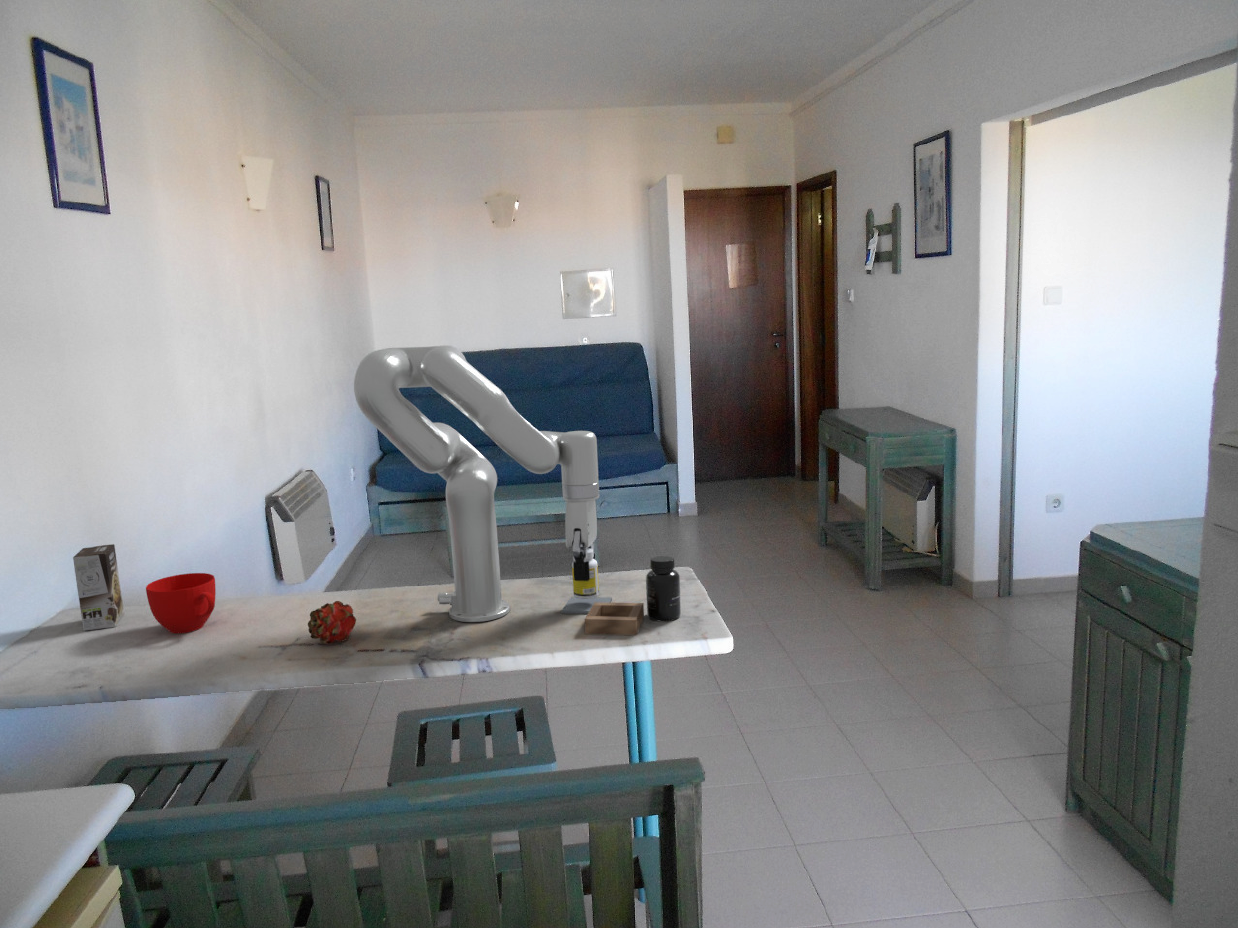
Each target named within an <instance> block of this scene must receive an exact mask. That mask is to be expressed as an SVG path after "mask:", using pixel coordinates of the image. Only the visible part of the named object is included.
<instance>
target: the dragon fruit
mask: <svg viewBox="0 0 1238 928" xmlns="http://www.w3.org/2000/svg"><path fill="white" fill-rule="evenodd" d="M309 619H310V620H308V623H307V626H308V629H307V630H308V632H309V634H311V635H310V638H311V639H312V640H313V639H314V640H319V641H320V643H322V644H325V645H327V646H331V645H332V644H334V642H335V641H338V642H347V641H348V640H349V637H351V636H350V634H351V633H352V631H353V630H354V627H355V626H356V623H357V618H356V617H355V616H354V609H353V608H352V606H351V605H350V604H344V603H343V602H342V601H340V600H335V601H334V602H333V603H329V602H328V603H327V602H326V603H325V604H324V605H322V606H320V607H319V608H316V609H315V610H312V611H311V612H309Z"/></svg>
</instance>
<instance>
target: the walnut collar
mask: <svg viewBox="0 0 1238 928" xmlns="http://www.w3.org/2000/svg"><path fill="white" fill-rule="evenodd" d="M644 606H645V604H644V603H643V602H611V603H602V602H595V603H594V605H593V606H592V608H591V609H590V611H589V613H588V614H587V615H586V616H585V617H584V633H585V635H611V636H612V635H614V636H615V635H616V636H617V635H619V636H620V635H621V636H637V634H638V632H639V630H640V627H641V625H642V623H643V620H644V618H645V607H644Z"/></svg>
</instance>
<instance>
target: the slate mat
mask: <svg viewBox="0 0 1238 928" xmlns="http://www.w3.org/2000/svg"><path fill="white" fill-rule="evenodd" d="M612 601H613V597H609V596H607V597H605V596H603V597H602V596H601V597H599V596H597V597H595V598H591V599H579V598H576V597H575V596H570V597H569V598H568V601H566V604H565V605H564V606H563V608H561V609H560V610H561V614H565V615H566V614H569V615H571V614H572V615H573V614H575V615H576V614H577V615H578V614H579V615H586V614H588V613H589V611H590V609H591V608H592V606H593V605H594V603H595V602H602V603H612Z"/></svg>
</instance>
